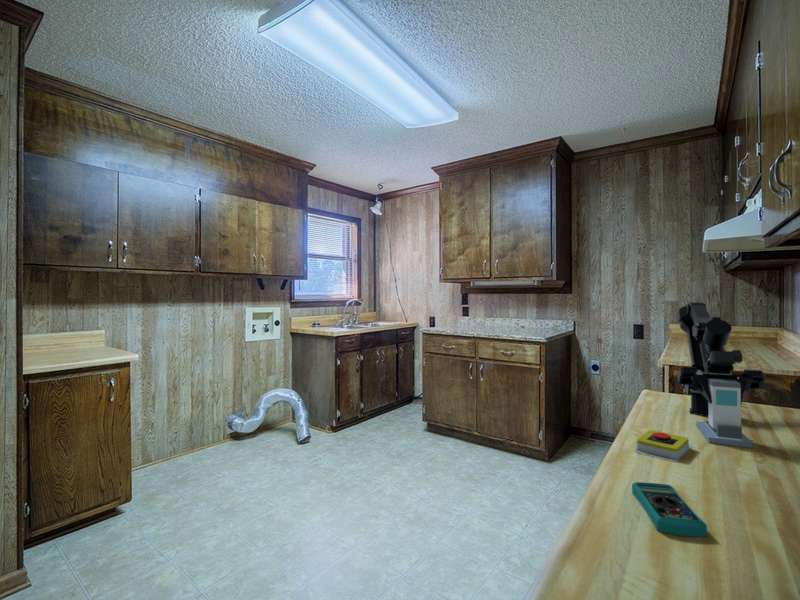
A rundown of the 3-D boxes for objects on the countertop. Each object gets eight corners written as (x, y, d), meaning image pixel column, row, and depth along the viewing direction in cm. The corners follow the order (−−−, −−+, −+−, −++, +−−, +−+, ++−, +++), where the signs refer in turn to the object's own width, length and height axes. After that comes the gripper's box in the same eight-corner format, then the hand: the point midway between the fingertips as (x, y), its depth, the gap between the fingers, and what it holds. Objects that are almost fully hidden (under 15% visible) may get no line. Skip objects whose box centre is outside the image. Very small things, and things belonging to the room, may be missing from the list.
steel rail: (704, 421, 120) (704, 420, 120) (725, 424, 118) (725, 422, 118) (717, 438, 107) (717, 436, 107) (742, 440, 105) (742, 439, 104)
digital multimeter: (658, 536, 68) (658, 518, 68) (631, 493, 82) (630, 479, 82) (709, 542, 66) (709, 524, 66) (672, 497, 80) (672, 482, 80)
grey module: (708, 423, 113) (708, 378, 113) (735, 425, 111) (735, 380, 111) (712, 428, 109) (712, 382, 109) (741, 431, 107) (740, 383, 107)
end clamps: (708, 425, 116) (708, 415, 116) (730, 427, 113) (730, 417, 113) (717, 436, 107) (717, 425, 107) (742, 439, 105) (741, 427, 105)
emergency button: (632, 436, 102) (651, 423, 112) (632, 453, 102) (651, 439, 112) (676, 446, 95) (692, 431, 106) (676, 464, 95) (692, 448, 106)
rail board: (696, 426, 121) (696, 421, 121) (734, 430, 117) (734, 424, 117) (708, 442, 108) (708, 437, 108) (752, 447, 104) (752, 441, 104)
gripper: (679, 338, 118) (687, 384, 108) (762, 340, 109) (779, 390, 100) (674, 361, 125) (682, 406, 115) (752, 364, 117) (767, 413, 107)
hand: (725, 403), depth 109 cm, fingers closed on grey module, 6 cm apart
